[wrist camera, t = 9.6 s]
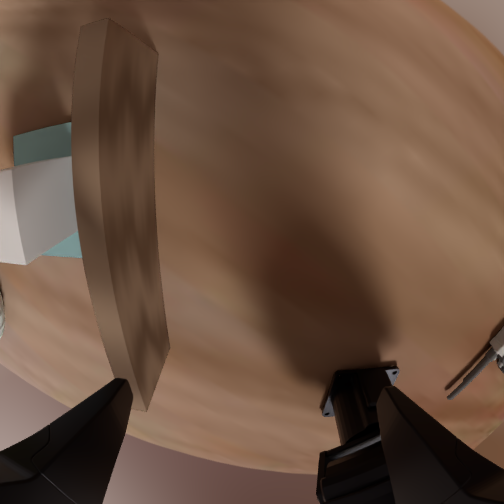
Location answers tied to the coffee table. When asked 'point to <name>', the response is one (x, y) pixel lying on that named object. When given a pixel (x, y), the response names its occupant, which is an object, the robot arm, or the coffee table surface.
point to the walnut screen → (119, 200)
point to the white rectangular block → (35, 208)
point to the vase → (1, 316)
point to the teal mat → (42, 148)
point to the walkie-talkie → (485, 362)
